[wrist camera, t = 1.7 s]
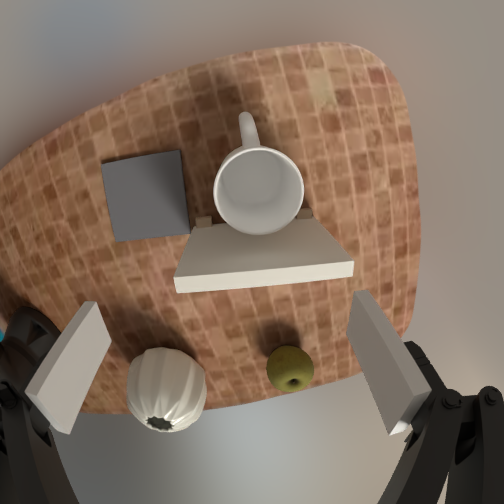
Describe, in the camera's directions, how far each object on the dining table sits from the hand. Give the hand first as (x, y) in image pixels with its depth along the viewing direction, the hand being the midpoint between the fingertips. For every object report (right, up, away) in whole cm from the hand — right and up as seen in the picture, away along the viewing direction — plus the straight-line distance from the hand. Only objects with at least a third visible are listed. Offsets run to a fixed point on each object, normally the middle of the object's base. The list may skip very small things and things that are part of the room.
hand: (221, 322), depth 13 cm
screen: (+2, +7, +24) cm, 25 cm away
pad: (-12, +11, +21) cm, 27 cm away
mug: (+1, +15, +20) cm, 25 cm away
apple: (+8, -14, +33) cm, 37 cm away
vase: (-13, -17, +33) cm, 40 cm away
